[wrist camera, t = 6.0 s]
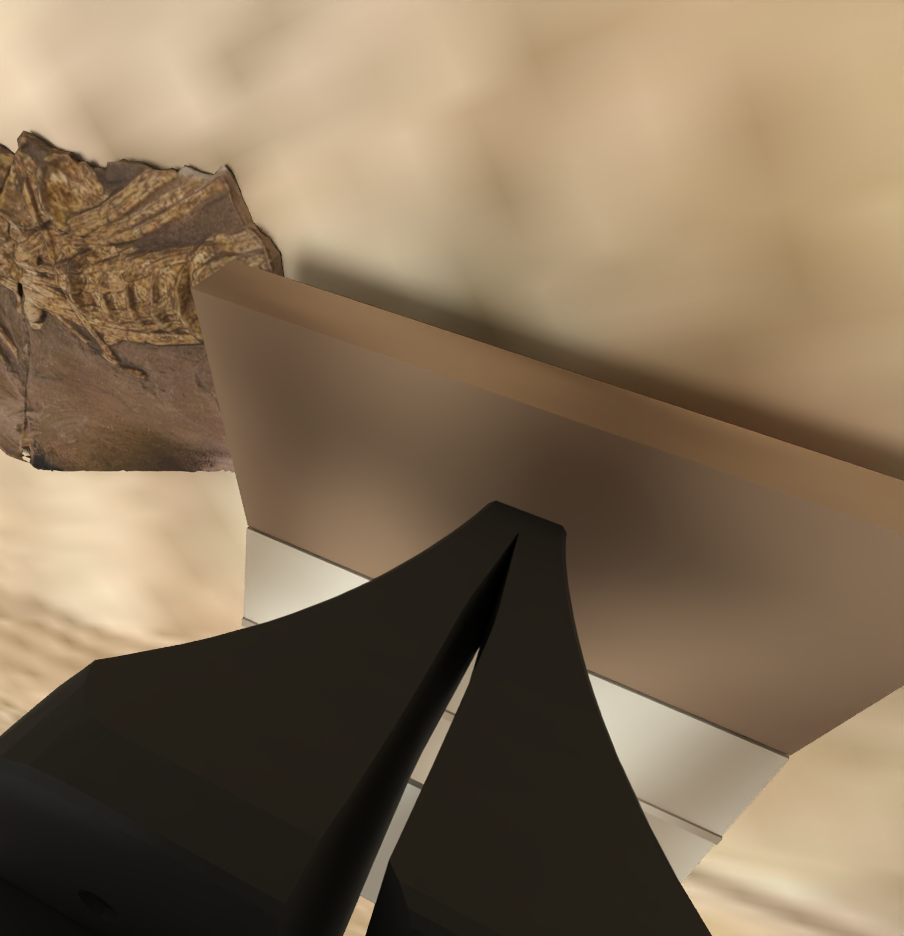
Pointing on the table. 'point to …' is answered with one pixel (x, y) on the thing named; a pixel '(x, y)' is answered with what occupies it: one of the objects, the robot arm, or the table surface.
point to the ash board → (623, 708)
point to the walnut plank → (569, 501)
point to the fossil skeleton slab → (113, 310)
